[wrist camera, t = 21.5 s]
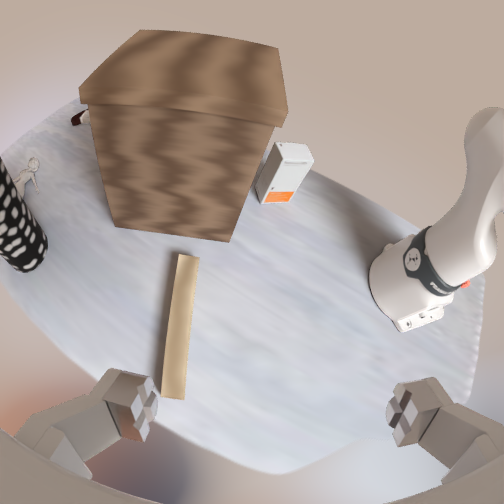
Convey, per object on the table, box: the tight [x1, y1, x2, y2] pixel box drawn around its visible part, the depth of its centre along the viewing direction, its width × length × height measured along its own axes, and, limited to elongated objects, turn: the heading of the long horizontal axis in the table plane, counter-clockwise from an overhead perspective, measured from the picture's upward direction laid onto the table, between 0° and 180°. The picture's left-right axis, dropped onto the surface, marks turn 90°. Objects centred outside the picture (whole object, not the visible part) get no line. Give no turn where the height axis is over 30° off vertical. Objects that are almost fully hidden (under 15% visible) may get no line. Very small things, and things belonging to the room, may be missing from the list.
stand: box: [79, 30, 288, 243], centre depth 36 cm, size 20×18×26 cm
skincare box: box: [255, 142, 315, 204], centre depth 47 cm, size 6×4×12 cm
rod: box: [161, 254, 200, 400], centre depth 36 cm, size 3×20×3 cm, turn 177°
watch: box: [71, 109, 90, 126], centre depth 49 cm, size 8×5×4 cm, turn 135°
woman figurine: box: [12, 157, 39, 199], centre depth 37 cm, size 12×4×18 cm
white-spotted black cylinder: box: [0, 157, 48, 273], centre depth 26 cm, size 8×8×20 cm
